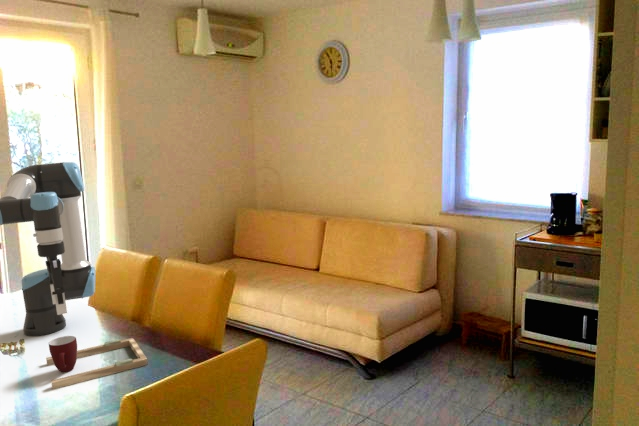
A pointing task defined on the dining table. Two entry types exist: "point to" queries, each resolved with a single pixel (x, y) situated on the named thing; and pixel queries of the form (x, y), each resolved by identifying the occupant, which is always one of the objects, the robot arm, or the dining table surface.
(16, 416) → the dining table surface
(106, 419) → the dining table surface
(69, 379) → the track
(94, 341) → the dining table surface
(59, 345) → the mug
